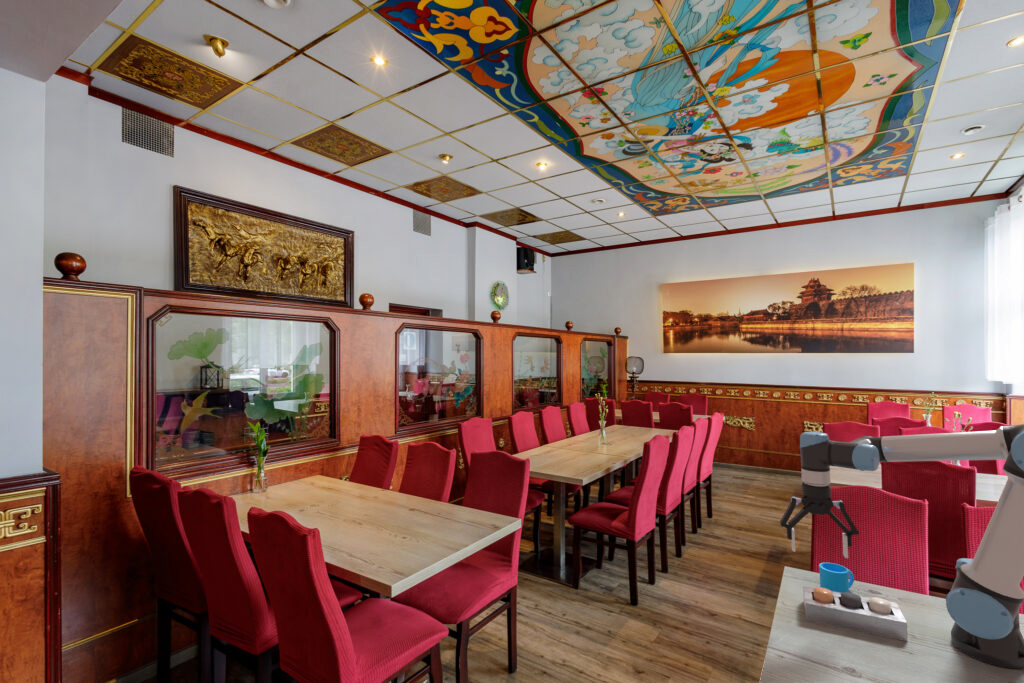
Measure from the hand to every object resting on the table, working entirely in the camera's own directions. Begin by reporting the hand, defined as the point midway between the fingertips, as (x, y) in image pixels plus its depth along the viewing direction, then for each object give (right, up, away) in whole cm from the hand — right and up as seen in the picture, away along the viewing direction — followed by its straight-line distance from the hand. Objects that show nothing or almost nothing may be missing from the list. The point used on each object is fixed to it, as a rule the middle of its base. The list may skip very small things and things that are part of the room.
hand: (819, 553), depth 146 cm
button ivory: (+14, -16, -6) cm, 22 cm away
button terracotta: (+2, -16, 0) cm, 16 cm away
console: (+8, -19, -3) cm, 20 cm away
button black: (+8, -16, -3) cm, 18 cm away
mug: (+16, -19, +14) cm, 29 cm away
